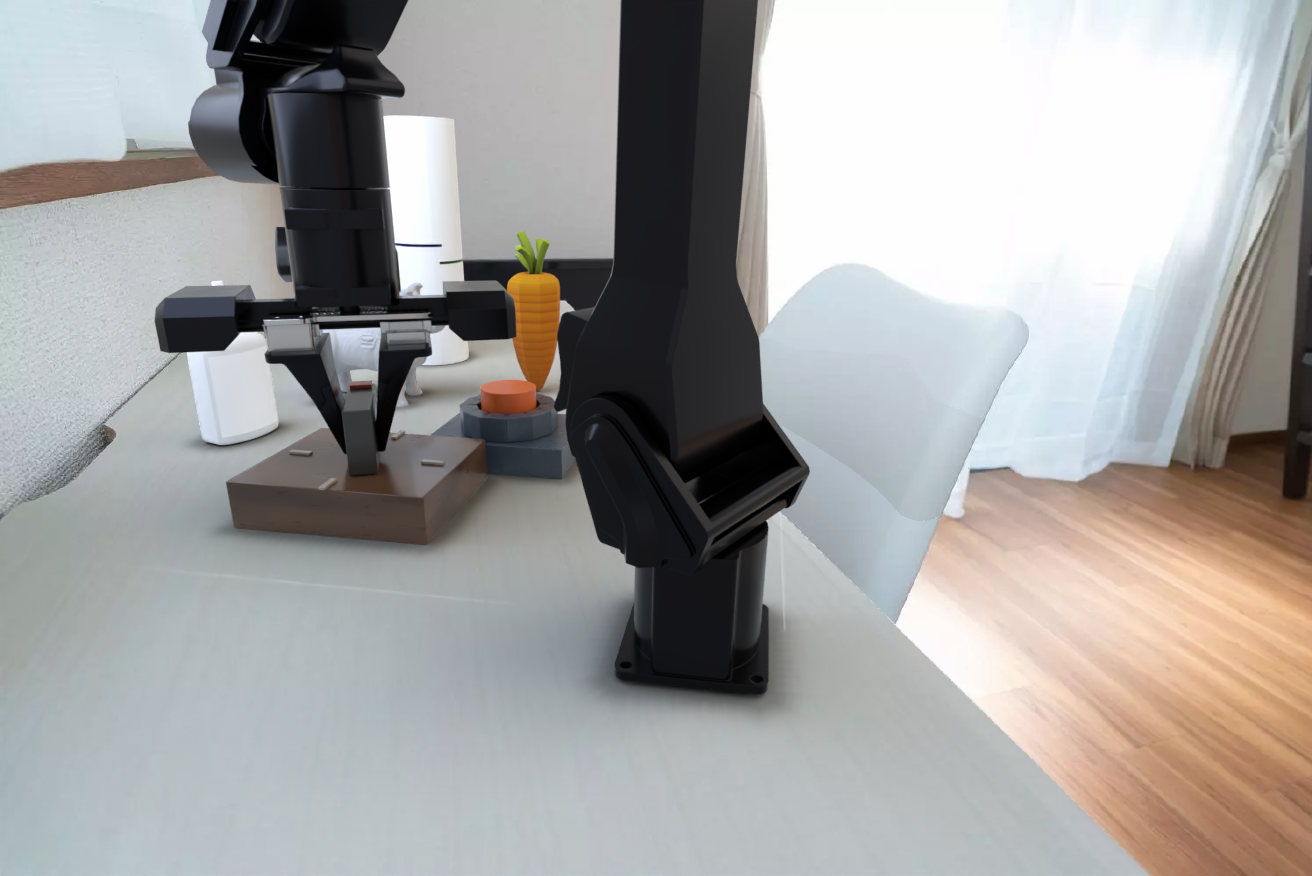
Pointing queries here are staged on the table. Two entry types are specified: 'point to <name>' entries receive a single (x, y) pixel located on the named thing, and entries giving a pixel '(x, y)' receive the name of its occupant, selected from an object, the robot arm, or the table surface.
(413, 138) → the cylindrical container
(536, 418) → the button box
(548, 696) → the table surface
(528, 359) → the carrot
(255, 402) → the eye dropper bottle
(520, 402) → the button
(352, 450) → the block
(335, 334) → the dog figurine
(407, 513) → the brown flat block
